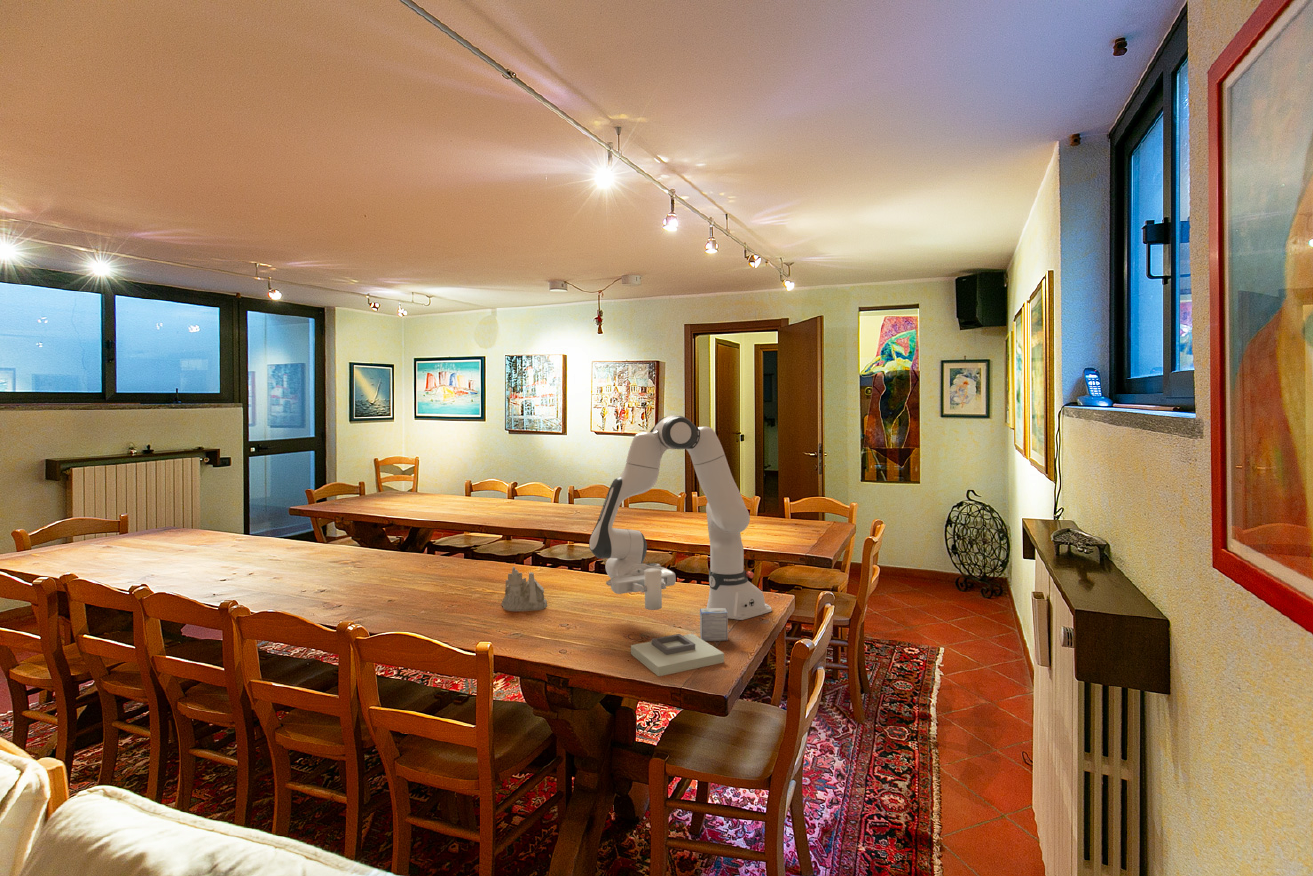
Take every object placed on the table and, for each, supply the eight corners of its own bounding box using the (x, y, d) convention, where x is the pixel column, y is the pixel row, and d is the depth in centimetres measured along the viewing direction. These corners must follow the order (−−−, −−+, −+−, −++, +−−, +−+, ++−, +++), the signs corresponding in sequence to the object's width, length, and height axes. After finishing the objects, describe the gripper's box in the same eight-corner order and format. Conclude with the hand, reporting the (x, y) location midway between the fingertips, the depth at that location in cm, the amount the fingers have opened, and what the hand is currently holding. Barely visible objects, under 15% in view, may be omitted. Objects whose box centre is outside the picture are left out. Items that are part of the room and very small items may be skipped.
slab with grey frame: (692, 642, 190) (692, 628, 190) (724, 662, 175) (724, 647, 175) (630, 654, 181) (630, 640, 181) (658, 676, 166) (658, 661, 166)
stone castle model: (544, 611, 219) (542, 566, 220) (496, 613, 219) (494, 568, 220) (552, 600, 235) (550, 558, 235) (507, 602, 235) (505, 560, 235)
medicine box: (725, 635, 195) (725, 607, 195) (728, 641, 191) (728, 612, 190) (699, 636, 195) (699, 608, 195) (701, 641, 191) (701, 612, 190)
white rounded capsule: (657, 603, 194) (656, 567, 194) (664, 608, 190) (664, 571, 189) (642, 606, 192) (641, 569, 192) (649, 611, 188) (648, 573, 187)
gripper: (603, 571, 197) (621, 582, 185) (662, 562, 207) (684, 572, 194) (604, 591, 198) (622, 604, 185) (663, 582, 207) (684, 593, 195)
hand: (654, 588), depth 190 cm, fingers closed on white rounded capsule, 5 cm apart
